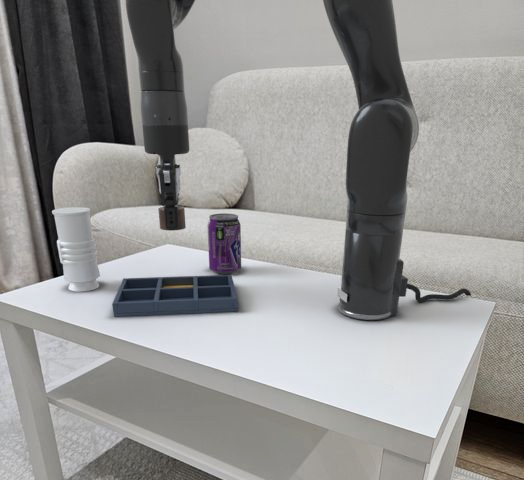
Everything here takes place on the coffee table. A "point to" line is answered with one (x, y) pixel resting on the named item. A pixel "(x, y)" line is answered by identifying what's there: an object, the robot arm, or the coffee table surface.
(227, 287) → the grey compartment tray
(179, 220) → the brown cylindrical piece
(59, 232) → the white ribbed cylinder
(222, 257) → the beverage can
